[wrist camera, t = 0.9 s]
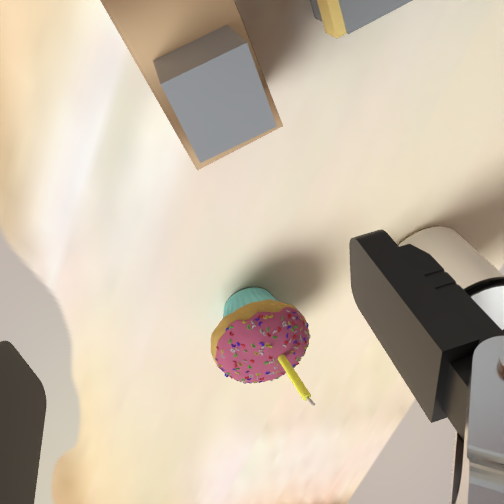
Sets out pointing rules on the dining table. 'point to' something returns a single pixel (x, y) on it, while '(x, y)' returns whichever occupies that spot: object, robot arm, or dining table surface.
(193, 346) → the dining table surface
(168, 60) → the grey cube
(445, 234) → the mug
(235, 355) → the cupcake
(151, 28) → the brown wooden box
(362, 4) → the dock
